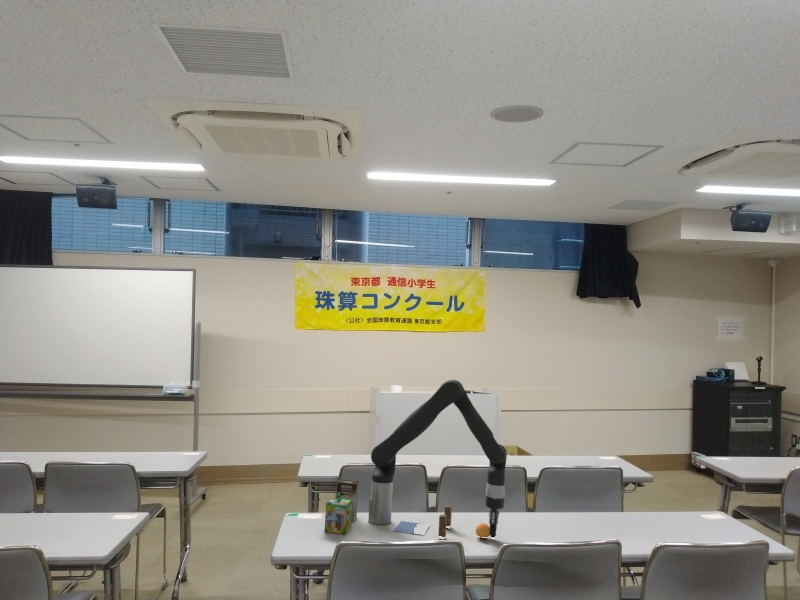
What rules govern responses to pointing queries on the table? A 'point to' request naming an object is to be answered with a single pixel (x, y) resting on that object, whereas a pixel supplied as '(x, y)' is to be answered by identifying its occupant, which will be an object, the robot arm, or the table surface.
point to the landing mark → (405, 527)
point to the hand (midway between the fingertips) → (492, 538)
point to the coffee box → (349, 493)
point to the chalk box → (338, 515)
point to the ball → (483, 530)
